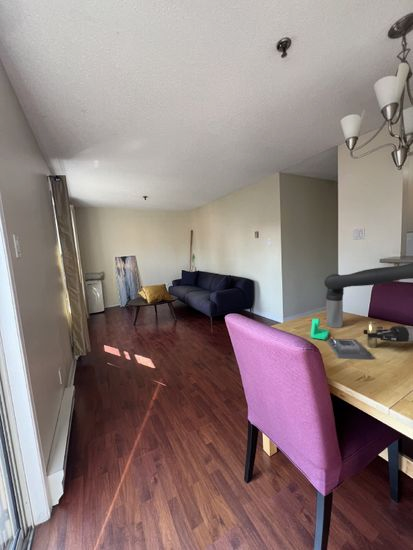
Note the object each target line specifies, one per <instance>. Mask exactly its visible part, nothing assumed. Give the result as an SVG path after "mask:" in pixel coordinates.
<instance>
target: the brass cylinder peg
mask: <svg viewBox="0 0 413 550" xmlns="http://www.w3.org/2000/svg"><path fill="white" fill-rule="evenodd" d="M366 325H367V326H366V327H367V328H366V330H367V334H366V341H367V342H366V345H367V347H368V348H370V349H371V348H372V349H376V348H378V338H369V337H368V333H377V327H378V323H377V322H376V320H368V321H367V324H366Z"/></svg>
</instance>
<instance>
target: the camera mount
mask: <svg viewBox="0 0 413 550" xmlns="http://www.w3.org/2000/svg"><path fill="white" fill-rule="evenodd" d="M311 321H312V322H311V329H310V338H313V339H317V340H318V339H320V340H327V339H329V334H330V330H329V329H324V328H319V327H320V326H321V321H320V319H319V318H312V320H311Z"/></svg>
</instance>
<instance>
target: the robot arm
mask: <svg viewBox="0 0 413 550" xmlns="http://www.w3.org/2000/svg"><path fill="white" fill-rule="evenodd" d="M411 279H413V262H411V263H408V264H401V265H395V266H394V265H393V266H384V267H383V266H382V267H375V268H368V269H364V270H359V271H357V272H353V273H349V274H338V273H332V274H330V275H328V276H327V277H326V278H325V279H324V286H325V288H327V289H326V290H327V292H326V295H325V297H326V298H325V300H326V301H325V303H326V305H325V306H326V309H325V312H326V316H325V318H326V323H325V324H326V326H328V327H330V328H334V329H335V328H336V329H339V328H342V327H343V326H344V325H343V323H344V322H343V321H344V313H343V311H344V309H343V307H344V305H343V304H344V302H343V299H344V292H345V291H344V290H345V288H350V287H364V286H365V287H366V286H376V285H383V284H388V283H393V282H397V281H400V280H411ZM363 334H364V335H367V329H363ZM368 337H369V338H377V340H378V339H380V340H381V341H388V342H395V343H396V342H398V343H401V342H403V343H406V342H407V343H413V326H412V325H393V326H391V327H390V329H389V328H383V326H377V333H368Z"/></svg>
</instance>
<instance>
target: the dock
mask: <svg viewBox="0 0 413 550" xmlns="http://www.w3.org/2000/svg"><path fill="white" fill-rule="evenodd" d="M326 344H328V346H329V348H331V350H332V352H333V353H334V354H335V355H336V357H337V358H338V359H348V360H349V359H350V360H373V354H372V353H371V352H370V351H368V349H367V348H365V346H364V345H362V344H361V343H360V342H359V341H358V340H357V339H356V338H355V339H353V338H335V337H334V336H330V337H329V338H327V339H326Z"/></svg>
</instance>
